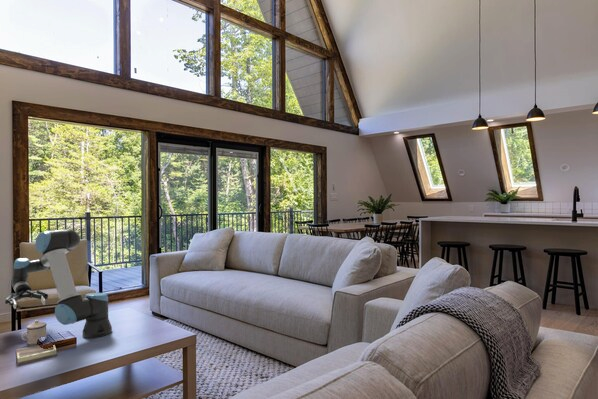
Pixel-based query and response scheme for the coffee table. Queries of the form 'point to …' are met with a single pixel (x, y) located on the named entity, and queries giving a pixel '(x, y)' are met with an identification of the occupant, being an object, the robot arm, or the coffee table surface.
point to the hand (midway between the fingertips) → (30, 304)
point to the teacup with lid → (35, 332)
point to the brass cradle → (36, 355)
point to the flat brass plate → (31, 351)
